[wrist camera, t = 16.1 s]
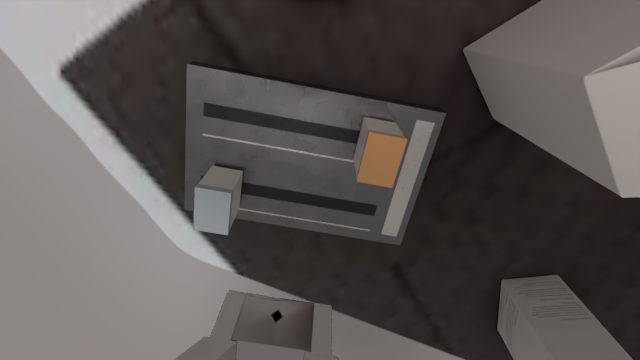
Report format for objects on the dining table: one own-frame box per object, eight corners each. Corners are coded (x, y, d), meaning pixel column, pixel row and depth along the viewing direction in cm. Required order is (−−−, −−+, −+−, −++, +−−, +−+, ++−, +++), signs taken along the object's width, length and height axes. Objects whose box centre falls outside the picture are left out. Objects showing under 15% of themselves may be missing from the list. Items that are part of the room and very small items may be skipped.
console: (440, 108, 31) (446, 113, 29) (397, 236, 37) (400, 245, 35) (193, 61, 29) (186, 63, 28) (190, 202, 35) (184, 210, 34)
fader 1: (243, 170, 32) (231, 193, 27) (239, 208, 33) (227, 235, 29) (211, 165, 31) (194, 187, 27) (209, 203, 33) (193, 229, 29)
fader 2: (396, 122, 29) (407, 139, 25) (383, 165, 31) (392, 188, 27) (363, 116, 29) (369, 132, 25) (352, 160, 31) (356, 181, 27)
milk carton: (492, 119, 31) (697, 245, 14) (461, 48, 29) (664, 96, 11) (572, 74, 29) (922, 157, 12) (546, -5, 27) (939, -42, 10)
